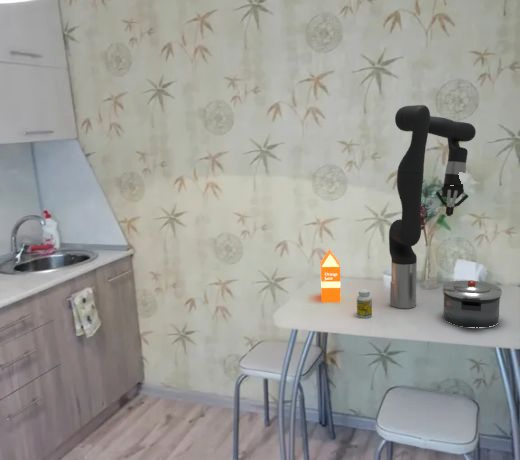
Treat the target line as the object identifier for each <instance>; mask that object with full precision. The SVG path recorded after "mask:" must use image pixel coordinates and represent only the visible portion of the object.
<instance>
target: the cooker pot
mask: <svg viewBox="0 0 520 460" xmlns="http://www.w3.org/2000/svg"><path fill="white" fill-rule="evenodd" d="M442 292H443V291H442ZM500 302H501V296H500V297H498V298H496V299H491V300H480V302H474V301H463V299H460V298H456V297H452V296H449V295H447V294H445V293H444V292H443V309H442V310H443V312H442V313H443V315H442V318H443V317H444V318H443V320H444V319H445V320H446V321H448V322H450V323H452V324H451V325H453V324H455V325H458V326H457V327H459V326H463V327H462V328H464V327H475V328H476V327H478V328H479V327H489V326H493V325H496V324H497V323H498V322H500V321H499V320H500ZM445 320H444V321H445ZM446 321H445V322H446ZM448 322H447V323H448ZM450 323H449V324H450ZM498 324H499V323H498ZM455 325H454V326H455ZM496 326H497V325H496Z"/></svg>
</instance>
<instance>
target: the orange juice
mask: <svg viewBox="0 0 520 460" xmlns="http://www.w3.org/2000/svg"><path fill="white" fill-rule="evenodd" d="M320 287H321V288H320V292H321V293H320V294H321V296H320V297H321V303H341V302H342V301H341V299H342V297H341V264H340V261H339V260H338V259H337V257H336V256H335V255H334V254H333V252H332V251H331V249H330V248H329V249H328V251H327V252H326V253H325V255H324V256H323V258H322V259H321V260H320Z"/></svg>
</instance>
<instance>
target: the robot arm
mask: <svg viewBox="0 0 520 460" xmlns="http://www.w3.org/2000/svg"><path fill="white" fill-rule="evenodd" d="M395 113H396V114H395V117H394V122H395V125H396V127H397V128H398V129H399V130H400V131H402V132H412V134H411V140H410V145H409V147H408V149H407V151H406V152H405V154H404V155H403V157H402V158H401V160H400V163H399V165H398V167H397V174H396V175H397V177H396V188H397V193H398V196H399V199H400V204H401V218H400V219H395V221H393V222H392V223H391V224H390V227H389V230H388V249H389V255H390V257H391V280H390V283H389V284H390V285H389V286H390V287H389V288H390V293H389V296H390V297H389V298H390V299H389V300H390V301H389V302H390V307H395V308H397V309H413V308H416V306H417V269H418V268H417V262H418V261H417V260H418V259H417V257H418V256H417V253H415V251H414V250H413V248H412V247H413V246H416V245H417V244H418V243H419V241H420V238H421V235H422V216H421V214H422V213H421V208H422V196H423V195H422V193H423V191H422V190H423V186H424V185H423V184H424V170H425V169H424V167H425V159H426V158H425V155H426V148H427V147H426V146H427V142H428V135H429V134H431V135H433V136H434V135H435V136H437V137H440V138H445V139H447V146H448V156H447V163H446V167H445V174H444V180H443V185H442V187H441V189H440V190H439V191H436V193H435V195H436V196H437V198H438V199H439V201H440V202H441V204H442V205H443V206H445V215H446V217H451V216H453V215H454V211H455V210H454V209H455V208H457V207H459V206H460V205H461V204H462V203H464V202H465V201H466V200H467V199H468V198H469V195H468V194H467V193H466V192H465V189H464V185H463V184H461V181H460V179H459V175H458V174H459V172H463V173H465V174H467V173H466V171H467V160H468V155H469V154H468V149H467V148H465V147H461V145H460V142H471V141H472V140H473V139H474V138H475V137H476V134H477V133H476V132H477V130H476V127H475V126H474V125H473V124H472V123H469V122H464V121H456V120H455V121H454V120H452V119H449V118H445V117H440V116H433V115H431V112H430V109H429V107H427V106H426V105H425V104H417V105H405V106H402V107H400V108H398V110H397V112H395ZM450 185H454V186H450ZM443 195H444V196H445V198H446V201H445V200H444V198H443V197H442V196H443ZM459 197H461V199H459ZM457 199H459V200H458V201H457ZM456 201H457V202H456Z"/></svg>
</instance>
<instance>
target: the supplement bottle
mask: <svg viewBox="0 0 520 460" xmlns="http://www.w3.org/2000/svg"><path fill="white" fill-rule="evenodd" d="M372 315H373V299H372V296H371V292H370V290H369V289H364V288H363V289H359V290H358V295H357V297H356V316H357V317H359V318H361V319H369V318H371V317H372Z"/></svg>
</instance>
